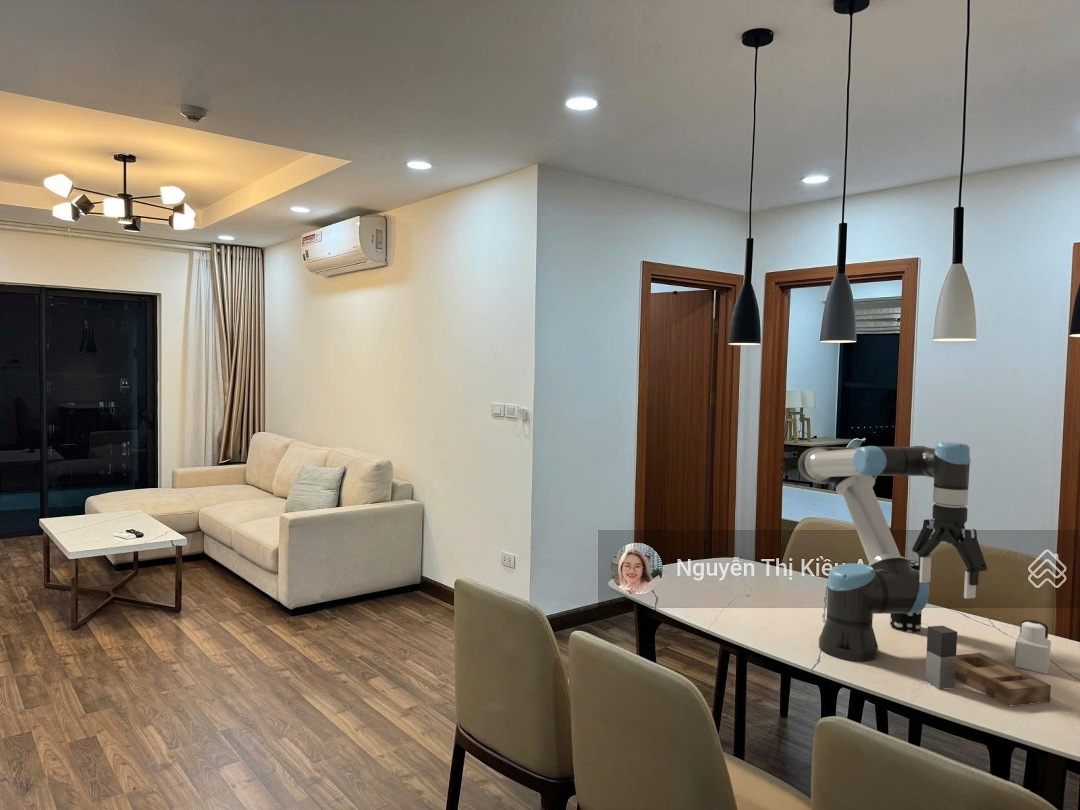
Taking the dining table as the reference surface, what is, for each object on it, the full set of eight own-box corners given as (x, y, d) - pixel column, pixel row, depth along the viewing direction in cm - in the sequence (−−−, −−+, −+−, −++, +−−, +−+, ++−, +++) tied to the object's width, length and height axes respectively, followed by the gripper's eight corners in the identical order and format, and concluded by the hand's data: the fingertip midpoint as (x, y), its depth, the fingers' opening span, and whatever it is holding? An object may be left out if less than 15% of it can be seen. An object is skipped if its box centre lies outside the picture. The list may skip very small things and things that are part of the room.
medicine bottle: (1017, 659, 196) (1019, 615, 195) (1049, 666, 191) (1052, 622, 191) (1014, 667, 190) (1016, 622, 190) (1047, 674, 186) (1049, 629, 185)
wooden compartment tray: (1008, 706, 167) (1009, 689, 167) (941, 671, 186) (941, 656, 186) (1049, 701, 170) (1050, 685, 170) (979, 667, 189) (980, 652, 189)
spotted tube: (924, 633, 214) (927, 567, 213) (894, 631, 216) (897, 565, 215) (915, 624, 222) (918, 560, 221) (886, 621, 224) (889, 558, 223)
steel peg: (939, 689, 175) (941, 633, 174) (925, 681, 179) (927, 626, 179) (954, 688, 176) (957, 631, 175) (940, 680, 180) (942, 625, 180)
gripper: (1007, 513, 168) (1003, 604, 168) (922, 496, 192) (919, 575, 192) (981, 514, 165) (977, 606, 166) (899, 497, 189) (896, 577, 190)
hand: (946, 589), depth 179 cm, fingers open, 13 cm apart
